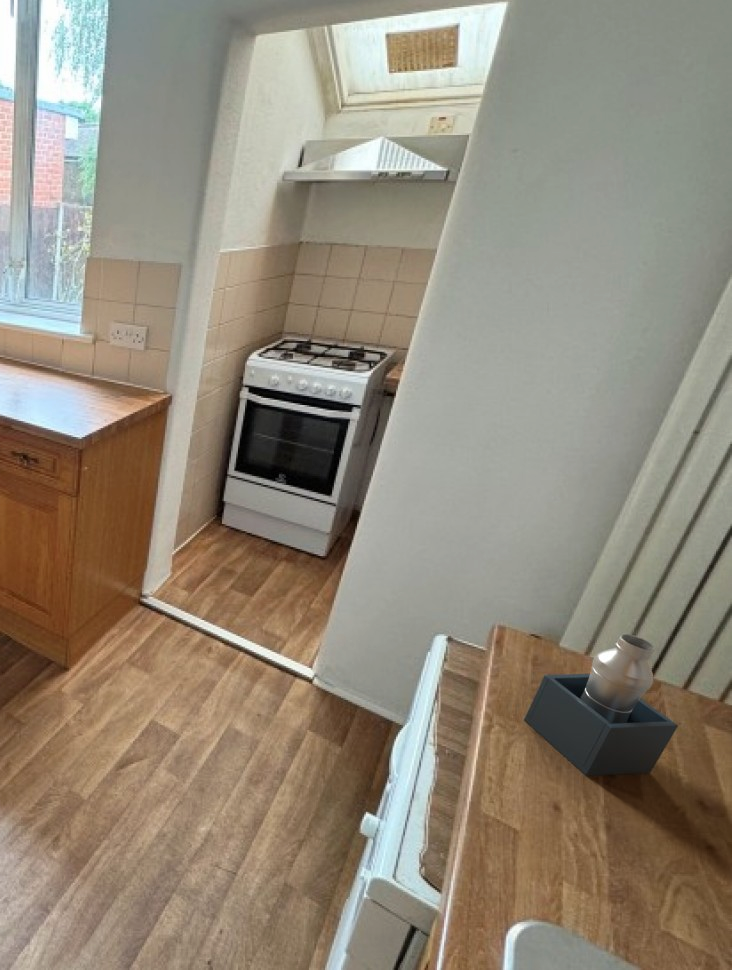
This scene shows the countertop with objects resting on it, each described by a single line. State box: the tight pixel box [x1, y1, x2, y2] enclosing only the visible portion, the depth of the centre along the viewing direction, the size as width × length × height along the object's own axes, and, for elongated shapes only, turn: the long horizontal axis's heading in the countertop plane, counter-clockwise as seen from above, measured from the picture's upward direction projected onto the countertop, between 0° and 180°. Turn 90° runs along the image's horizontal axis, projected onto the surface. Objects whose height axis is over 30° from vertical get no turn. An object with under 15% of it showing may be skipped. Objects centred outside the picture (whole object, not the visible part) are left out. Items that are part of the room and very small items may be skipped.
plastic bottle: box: [580, 633, 656, 724], centre depth 92 cm, size 6×7×20 cm
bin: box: [523, 673, 679, 777], centre depth 95 cm, size 11×11×10 cm
